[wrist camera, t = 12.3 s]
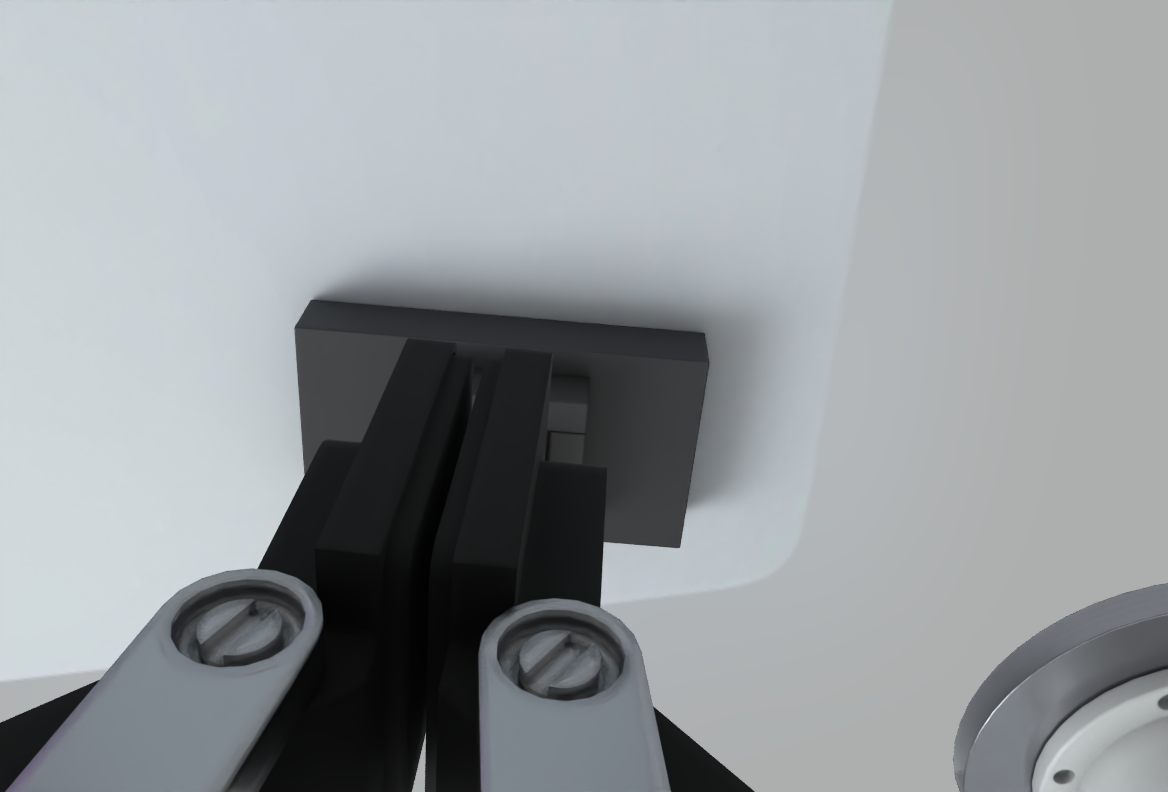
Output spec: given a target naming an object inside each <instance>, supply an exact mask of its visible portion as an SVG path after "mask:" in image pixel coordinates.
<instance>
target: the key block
mask: <svg viewBox="0 0 1168 792" xmlns="http://www.w3.org/2000/svg"><path fill="white" fill-rule="evenodd" d="M408 338H413V339H424V340H434V341H444V342H454V343H456V345H457V355H462V356H472V357H473V363H474V370H473V396H472V408H473V404H474V401H475V397H476V394H477V390H478V387H479V383H480V379H481V376H482V372H483V369H484V365H485V362H486V359H487V358H492V359H502V360H503V358H504V354H505V350H506V348H515V349H525V350H535V351H545V352H553V362H552V375H551V387H550V400H549V412H548V425H547V437H546V449H545V461H553V462H564V463H574V464H584V465H594V466H604V467H607V484H606V504H605V523H604V542H610V543H623V544H635V545H647V546H659V547H671V548H680V544H681V538H682V532H683V526H684V519H685V513H686V507H687V501H688V494H689V488H690V482H691V475H692V469H693V463H694V457H695V450H696V444H697V438H698V432H699V425H700V419H701V413H702V406H703V400H704V394H705V388H706V381H707V375H708V369H709V357H708V350H707V344H706V337H705V334H704V333H696V332H684V331H672V330H660V329H648V328H637V327H625V326H613V325H601V324H589V323H578V322H566V321H554V320H542V319H530V318H519V317H507V316H495V315H483V314H471V313H460V312H448V311H436V310H424V309H413V308H401V307H389V306H377V305H365V304H354V303H342V302H330V301H318V300H311V301H310V303H309V304H308V306H307V308H306V309H305V311H304V313H303V314H302V316H301V318H300V319H299V321H298V323H297V324H296V326H295V343H296V357H297V372H298V387H299V401H300V416H301V431H302V445H303V460H304V474H306V472H307V470H308V468H309V466H310V464H311V462H312V460H313V458H314V456H315V454H316V452H317V450H318V448H319V447H320V445H321V444H322V442H323V441H324V440H327V439H331V440H341V441H351V442H362V440H363V438H364V436H365V433H366V431H367V429H368V427H369V424H370V422H371V420H372V418H373V415H374V413H375V411H376V408H377V406H378V404H379V402H380V399H381V397H382V395H383V393H384V390H385V388H386V386H387V384H388V381H389V379H390V377H391V375H392V372H393V370H394V368H395V365H396V363H397V361H398V359H399V356H400V354H401V352H402V350H403V347H404V345H405V343H406V341H407V339H408Z"/></svg>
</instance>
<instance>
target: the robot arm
mask: <svg viewBox="0 0 1168 792" xmlns="http://www.w3.org/2000/svg"><path fill="white" fill-rule="evenodd" d="M552 362H553V352H545V351H535V350H525V349H515V348H506V350H505V354H504V358H503V360H502V359H492V358H487V359H486V362H485V365H484V369H483V372H482V376H481V379H480V383H479V387H478V390H477V394H476V397H475V401H474V404H473V408H472V396H473V370H474V363H473V357H472V356H462V355H457V345H456V343H454V342H444V341H434V340H424V339H413V338H408V339H407V341H406V343H405V345H404V347H403V350H402V352H401V354H400V356H399V359H398V361H397V363H396V365H395V368H394V370H393V372H392V375H391V377H390V379H389V381H388V384H387V386H386V388H385V390H384V393H383V395H382V397H381V399H380V402H379V404H378V406H377V408H376V411H375V413H374V415H373V418H372V420H371V422H370V424H369V427H368V429H367V431H366V433H365V436H364V438H363V440H362V442H351V441H341V440H331V439H327V440H324V441H323V442H322V444H321V445H320V447H319V448H318V450H317V452H316V454H315V456H314V458H313V460H312V462H311V464H310V466H309V468H308V470H307V472H306V474H305V476H304V478H303V480H302V482H301V484H300V486H299V488H298V490H297V492H296V494H295V496H294V498H293V500H292V502H291V504H290V506H289V508H288V510H287V511H286V513H285V515H284V517H283V519H282V521H281V523H280V525H279V527H278V529H277V531H276V533H275V535H274V537H273V539H272V541H271V543H270V545H269V547H268V549H267V551H266V553H265V555H264V557H263V559H262V561H261V563H260V565H259V567H258V569H242V570H233V571H225V572H222V573H219V574H215V575H212V576H208V577H205V578H202V579H200V580H198V581H196V582H194V583H192V584H190V585H189V586H187V587H185V588H183V589H181V590H180V591H178V592H177V593H176V594H175V595H174V596H173V597H172V598H170V599H169V600H168V601H167V602H166V603H165V604H164V605H163V606H162V607H161V608H160V609H159V610H158V612H157V613H156V614H155V615H154V616H153V618H152V619H151V620H150V621H149V622H148V623H147V625H146V626H145V627H144V628H143V629H142V631H141V632H140V633H139V634H138V635H137V637H136V638H135V639H134V640H133V641H132V642H131V644H130V645H129V646H128V647H127V648H126V650H125V651H124V652H123V653H122V654H121V655H120V657H119V658H118V659H117V660H116V661H115V663H114V664H113V665H112V666H111V667H110V668H109V670H108V671H107V672H106V673H105V674H104V676H103V677H102V678H101V679H100V680H98V681H96V682H94V683H91V684H89V685H87V686H84V687H82V688H80V689H77V690H75V691H73V692H70V693H68V694H66V695H63V696H61V697H59V698H56V699H54V700H52V701H49V702H47V703H45V704H43V705H40V706H38V707H36V708H33V709H31V710H29V711H26V712H24V713H22V714H19V715H17V716H15V717H13V718H10V719H8V720H6V721H3V722H1V723H0V792H412V789H413V785H414V780H415V776H416V772H417V768H418V763H419V759H420V754H421V750H422V746H423V742H424V738H425V733H426V764H425V767H426V768H425V769H426V770H425V792H754V791H753V790H752V789H751V788H750V787H748V786H747V785H746V784H745V783H744V782H742V781H741V780H740V779H739V778H738V777H737V776H735V775H734V774H733V773H732V772H731V771H729V770H728V769H727V768H726V767H725V766H723V765H722V764H721V763H720V762H718V760H716V759H715V758H714V757H713V756H712V755H710V754H709V753H708V752H707V751H706V750H704V749H703V748H702V747H701V746H700V745H698V744H697V743H696V742H695V741H694V740H693V739H691V738H690V737H689V736H688V735H687V734H685V733H684V732H683V731H682V730H680V729H679V728H678V727H677V726H676V725H675V724H673V723H672V722H671V721H670V720H669V719H668V718H666V717H665V716H664V715H663V714H662V713H660V712H659V711H658V710H657V709H656V708H654V707H653V704H652V699H651V695H650V690H649V685H648V680H647V676H646V671H645V666H644V661H643V656H642V652H641V650H640V647H639V645H638V643H637V640H636V638H635V636H634V634H633V633H632V632H631V631H630V630H629V629H628V628H627V627H626V626H625V624H623V622H622V621H621V620H620V619H618V618H617V617H615V616H613V615H612V614H610V613H608V612H607V611H605V610H603V609H602V608H600V601H601V581H602V562H603V543H604V523H605V504H606V484H607V467H604V466H594V465H584V464H574V463H564V462H553V461H545V449H546V437H547V425H548V412H549V400H550V387H551V375H552ZM1032 791H1033V792H1168V669H1164V670H1160V671H1157V672H1154V673H1151V674H1148V675H1145V676H1142V677H1138V678H1135V679H1132V680H1130V681H1128V682H1126V683H1124V684H1122V685H1119V686H1117V687H1115V688H1113V689H1111V690H1109V691H1106V692H1105V693H1103V694H1101V695H1100V696H1098V697H1097V698H1095V699H1094V700H1092V701H1090V702H1089V703H1087V704H1086V705H1084V706H1083V707H1081V708H1080V709H1079V710H1078V711H1077V712H1075V713H1074V714H1073V715H1072V716H1071V717H1070V718H1069V719H1067V720H1066V721H1065V722H1064V723H1063V724H1062V725H1061V726H1060V727H1059V728H1058V730H1057V731H1056V732H1055V733H1054V735H1053V736H1052V737H1051V738H1050V739H1049V741H1048V742H1047V743H1046V745H1045V747H1044V749H1043V751H1042V752H1041V754H1040V756H1039V758H1038V760H1037V762H1036V766H1035V770H1034V775H1033V779H1032Z"/></svg>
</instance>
